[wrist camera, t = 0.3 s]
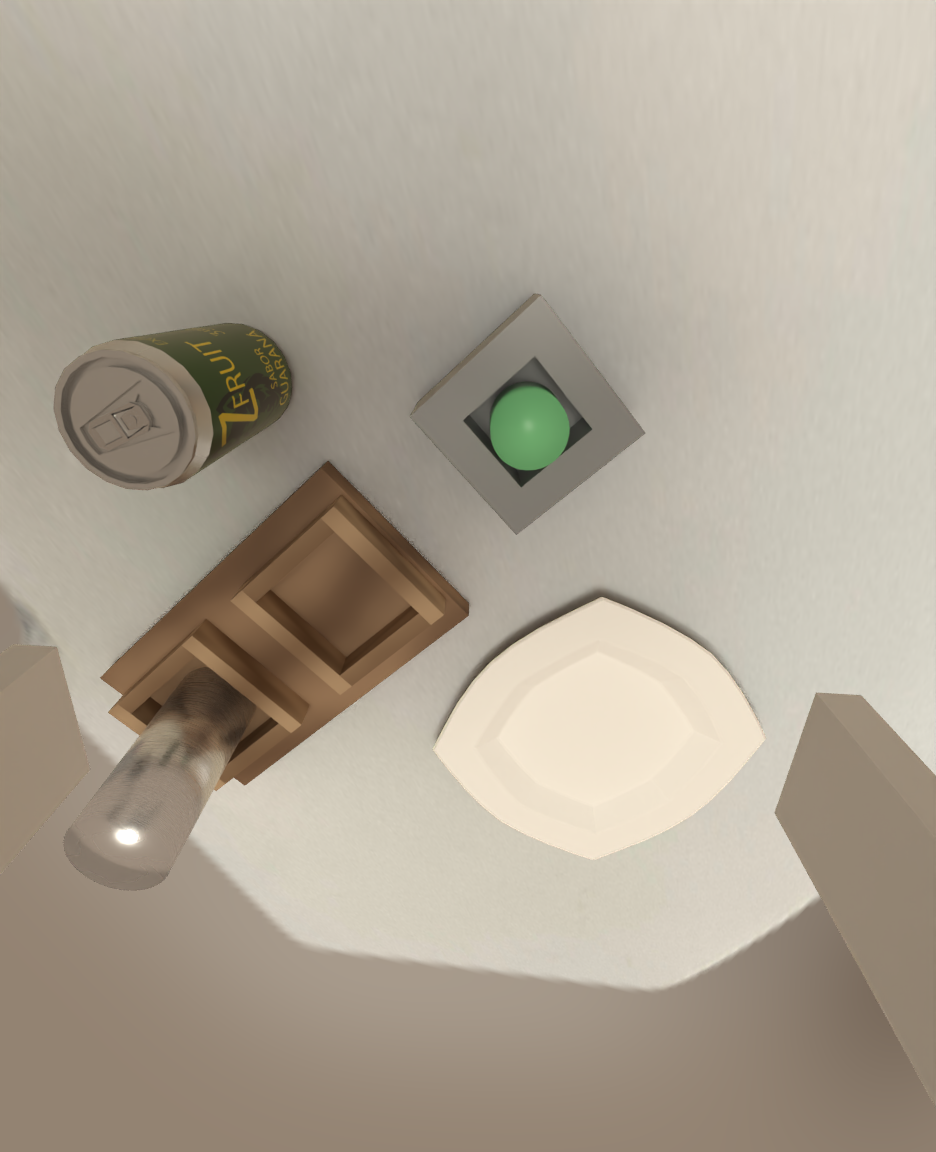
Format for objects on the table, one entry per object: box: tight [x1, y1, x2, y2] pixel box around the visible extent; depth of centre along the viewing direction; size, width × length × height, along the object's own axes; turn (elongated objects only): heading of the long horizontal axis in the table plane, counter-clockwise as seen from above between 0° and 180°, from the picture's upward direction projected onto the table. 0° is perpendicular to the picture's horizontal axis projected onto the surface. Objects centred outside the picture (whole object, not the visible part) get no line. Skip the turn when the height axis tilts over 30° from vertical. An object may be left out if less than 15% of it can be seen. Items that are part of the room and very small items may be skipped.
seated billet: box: [64, 667, 256, 890], centre depth 34 cm, size 5×5×12 cm
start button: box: [490, 381, 570, 470], centre depth 29 cm, size 4×4×3 cm
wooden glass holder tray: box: [101, 461, 469, 791], centre depth 38 cm, size 12×21×4 cm, turn 131°
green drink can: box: [54, 323, 292, 490], centre depth 27 cm, size 5×5×12 cm
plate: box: [432, 597, 766, 860], centre depth 41 cm, size 19×19×2 cm
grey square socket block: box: [410, 294, 645, 535], centre depth 31 cm, size 8×8×4 cm
